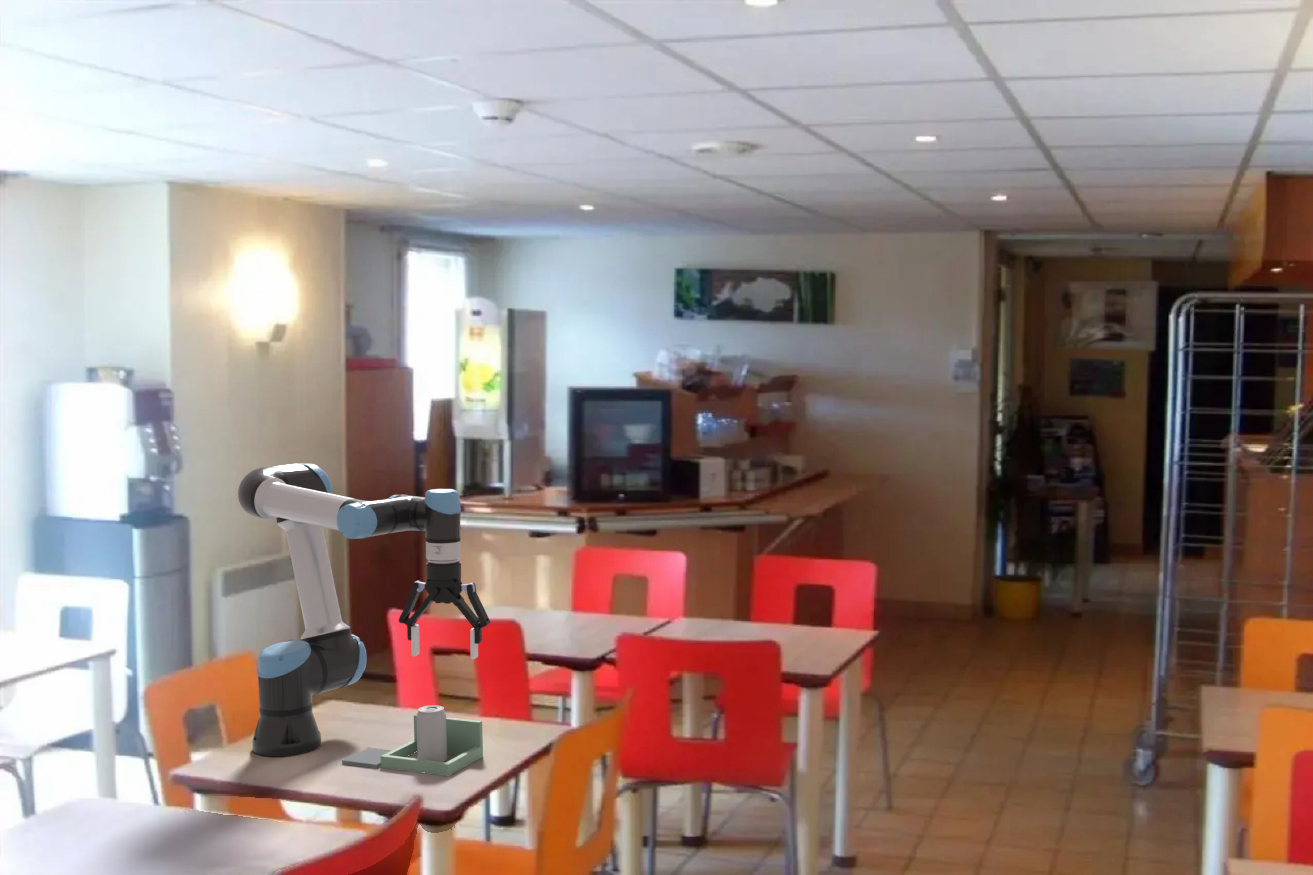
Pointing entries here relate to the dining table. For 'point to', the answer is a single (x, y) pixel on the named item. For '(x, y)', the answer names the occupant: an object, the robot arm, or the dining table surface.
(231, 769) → the dining table surface
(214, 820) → the dining table surface
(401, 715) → the dining table surface
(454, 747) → the green tray
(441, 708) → the beverage can
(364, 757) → the mat
